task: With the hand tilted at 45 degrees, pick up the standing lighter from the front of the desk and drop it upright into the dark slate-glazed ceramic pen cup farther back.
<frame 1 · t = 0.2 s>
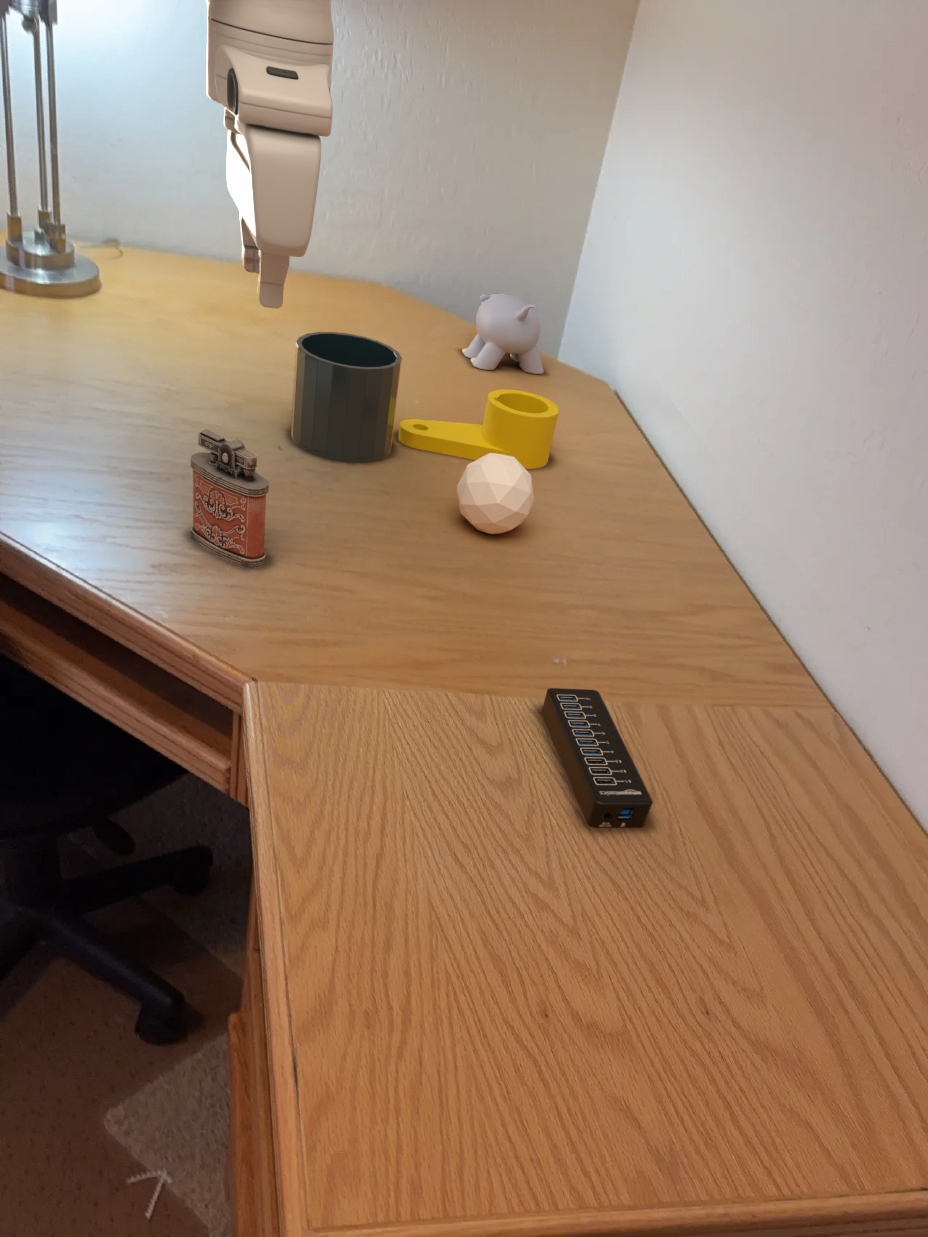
hand: (261, 287, 86), 21 cm above the table, tool pointing down, fingers open, 8 cm apart
lighter: (227, 551, 96), on the table
multiport hub: (589, 768, 81), on the table
pen cup: (341, 442, 119), on the table
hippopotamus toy: (499, 361, 153), on the table
geometric ball: (488, 530, 109), on the table
crank: (473, 450, 125), on the table
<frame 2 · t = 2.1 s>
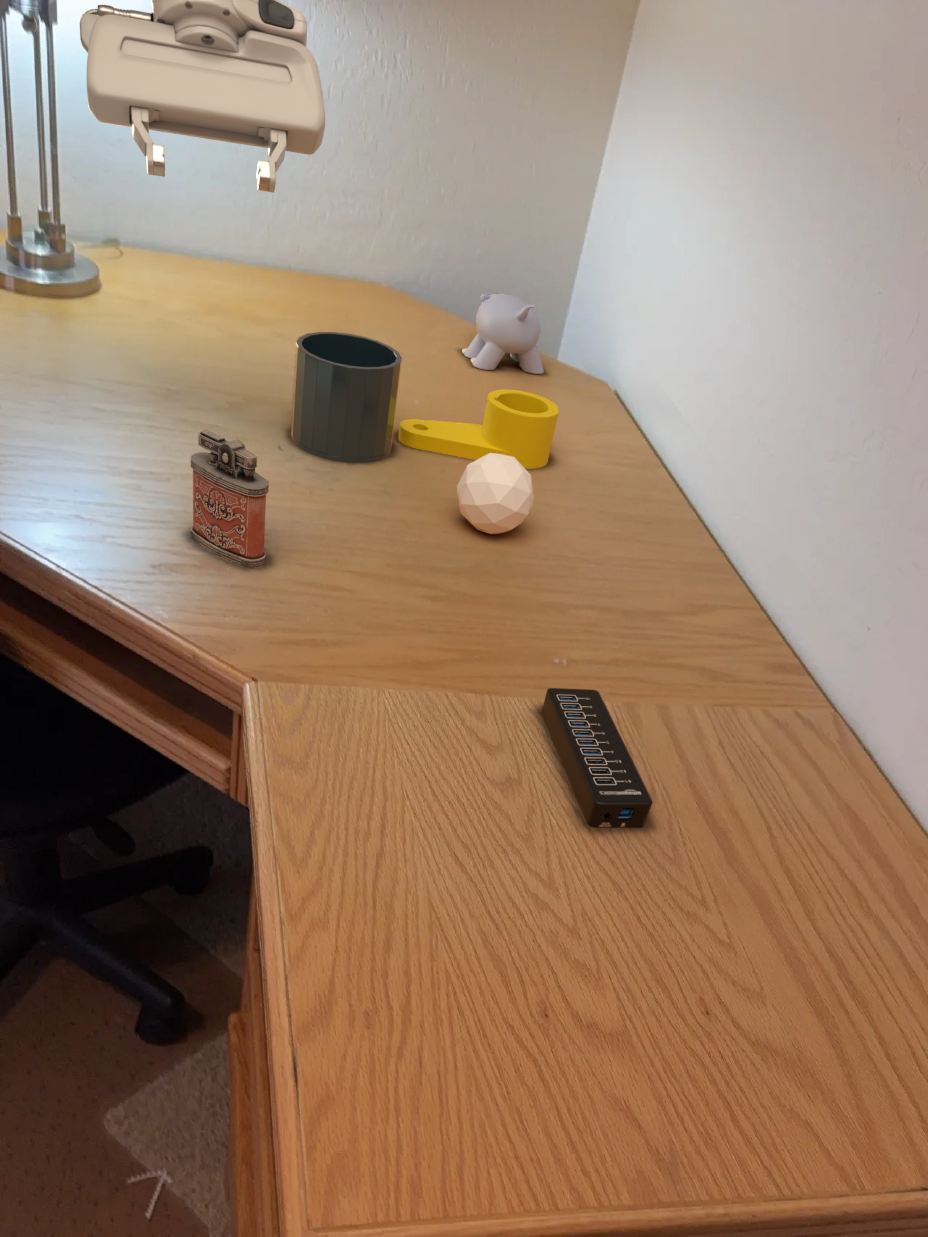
hand: (212, 179, 93), 25 cm above the table, tool tilted 45°, fingers open, 8 cm apart
nothing on the table moved.
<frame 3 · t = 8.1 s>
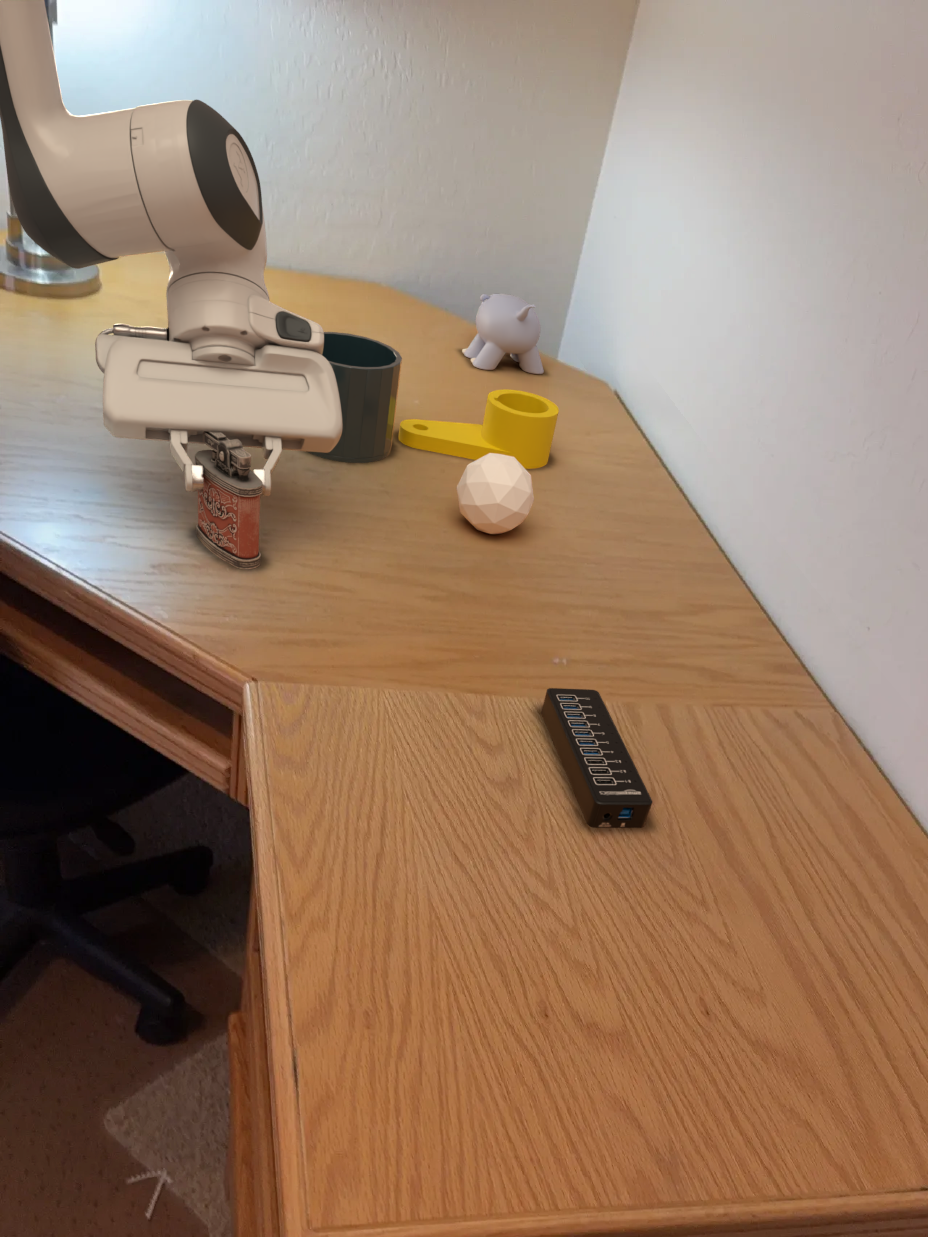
hand: (229, 491, 92), 6 cm above the table, tool tilted 45°, fingers closed on lighter, 4 cm apart
lighter: (228, 550, 96), on the table, touching gripper
everything else where it was.
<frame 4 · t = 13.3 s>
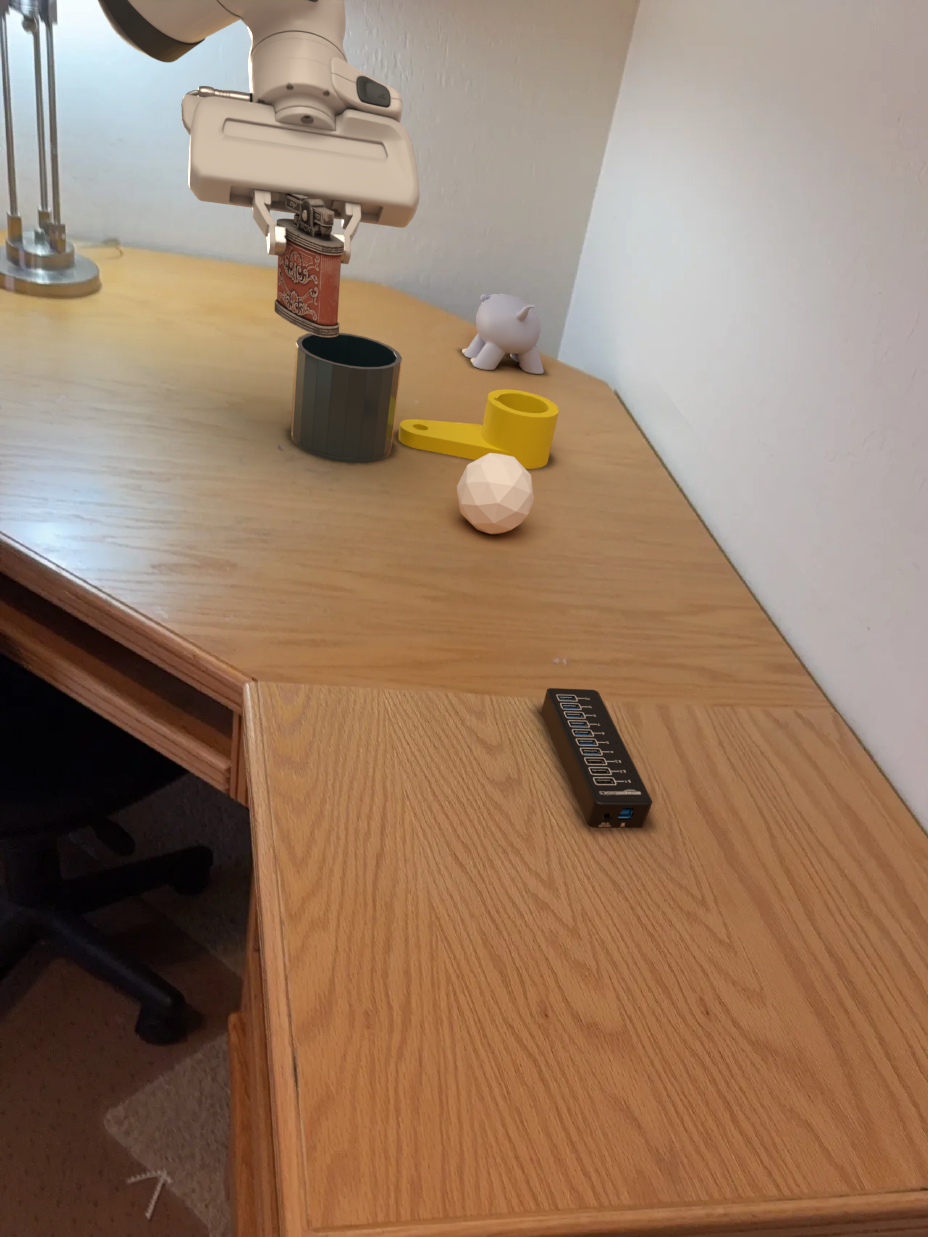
hand: (310, 255, 94), 22 cm above the table, tool tilted 45°, fingers closed on lighter, 4 cm apart
lighter: (306, 324, 98), point 16 cm above the table, touching gripper
everything else where it was.
when the fingers open (10 cm above the table, at t = 19.3 s): lighter stays where it is, resting on pen cup.
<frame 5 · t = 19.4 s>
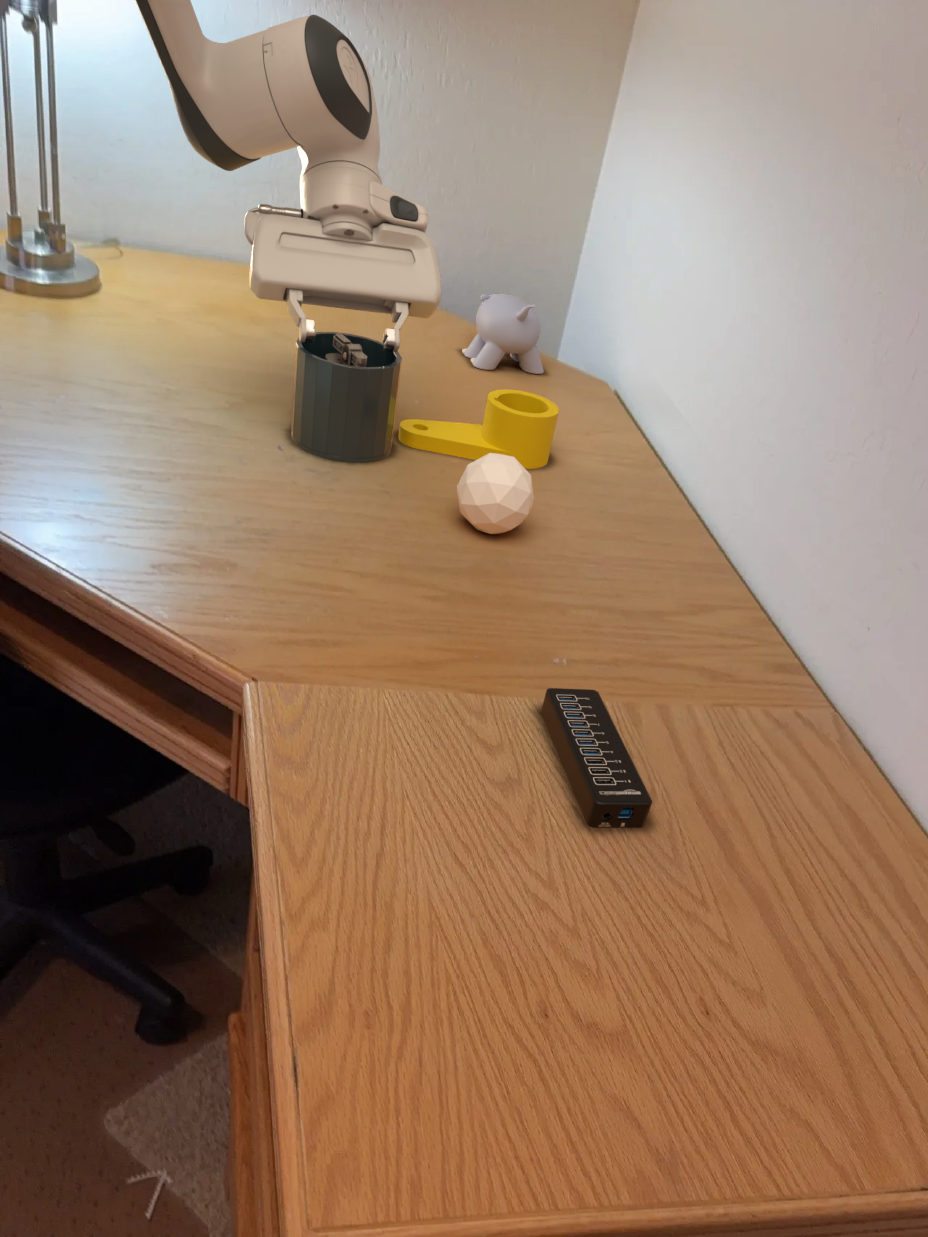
hand: (350, 344, 112), 11 cm above the table, tool tilted 45°, fingers open, 8 cm apart
lighter: (341, 437, 119), point 1 cm above the table, touching pen cup
everything else where it was.
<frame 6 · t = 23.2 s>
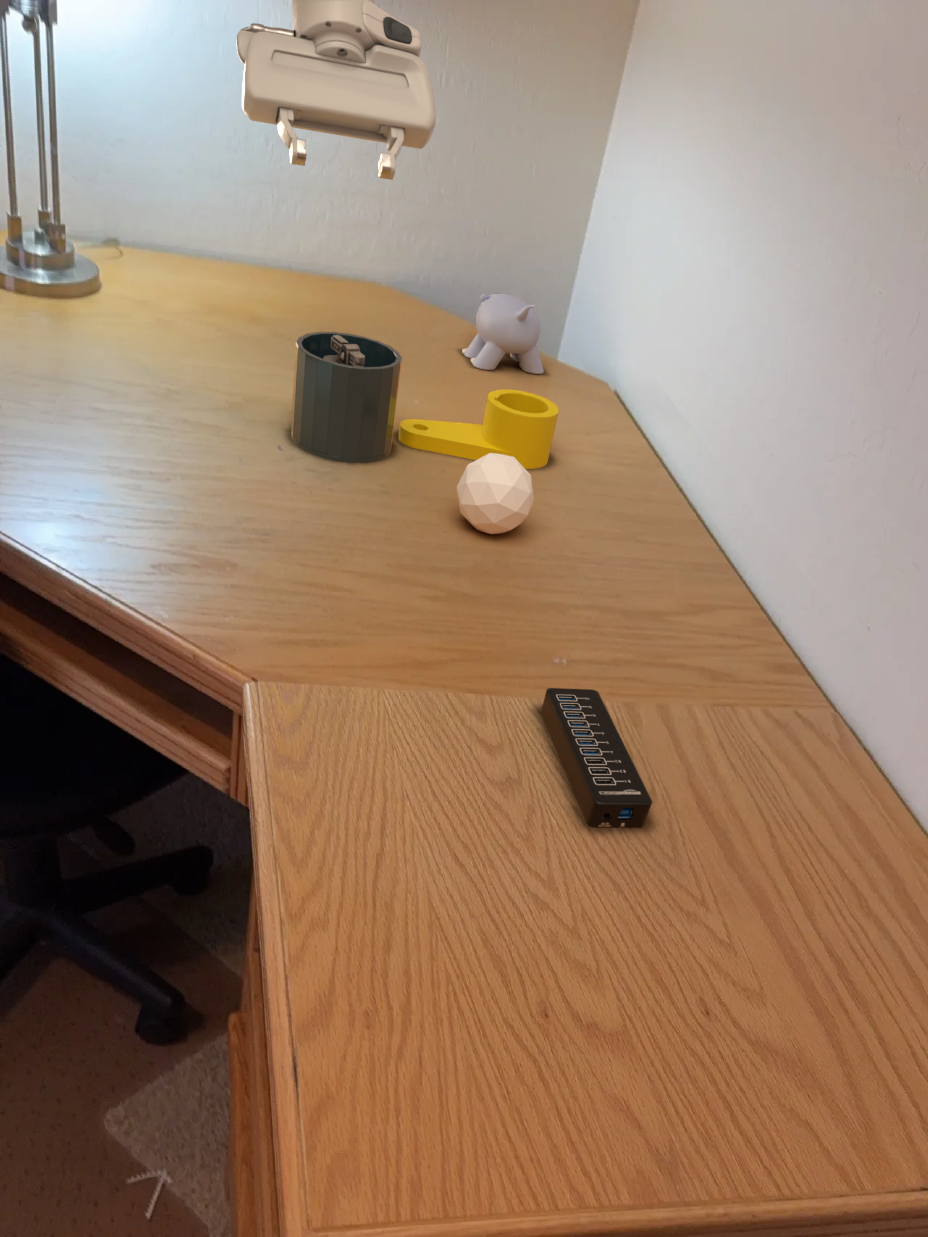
hand: (343, 168, 111), 24 cm above the table, tool tilted 45°, fingers open, 8 cm apart
nothing on the table moved.
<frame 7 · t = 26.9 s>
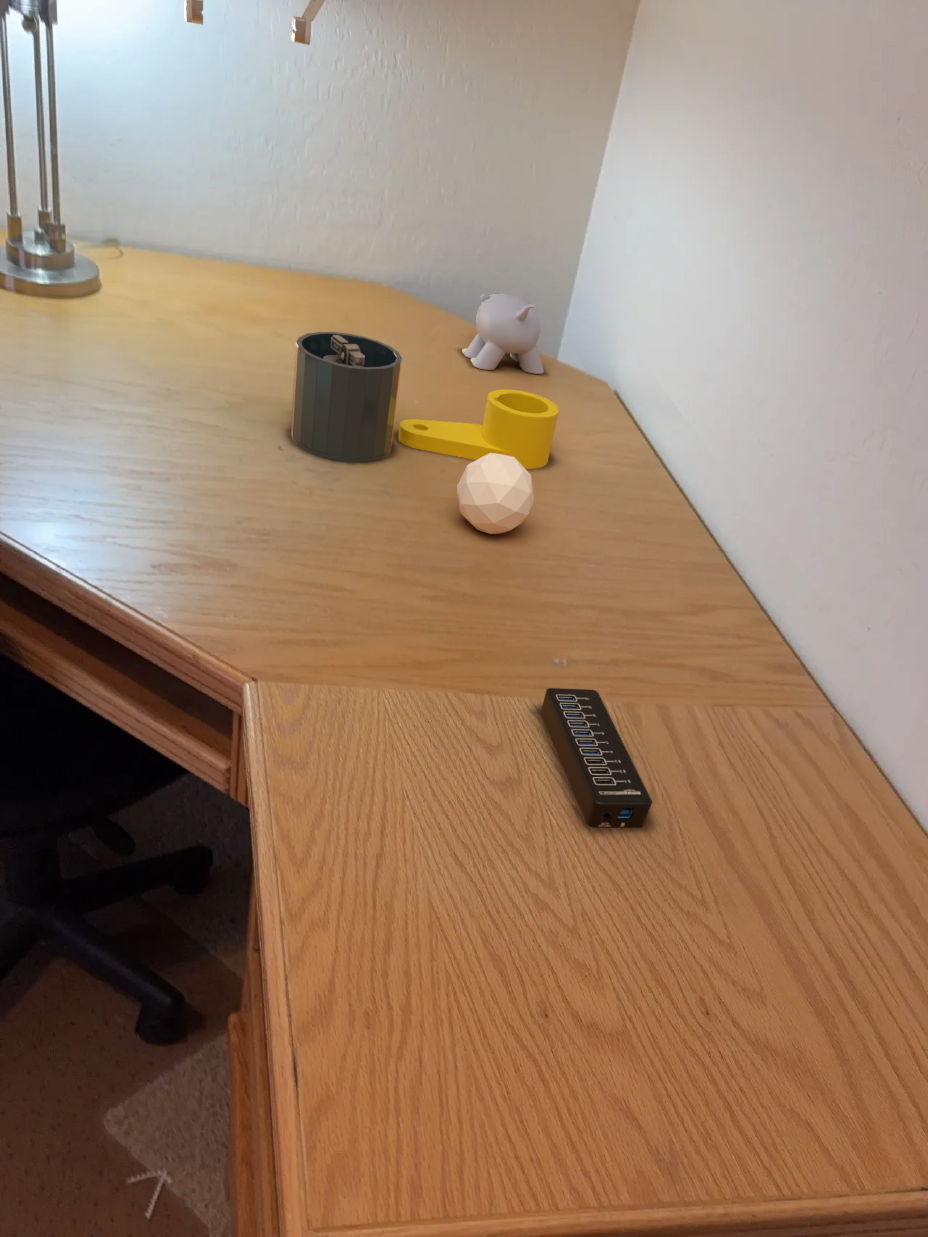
hand: (248, 32, 95), 35 cm above the table, tool pointing down, fingers open, 8 cm apart
nothing on the table moved.
at the end: lighter inside the target area in the pen cup (0.0 cm from its centre), point 0.4 cm above the pen cup's base; the gripper is holding nothing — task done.
